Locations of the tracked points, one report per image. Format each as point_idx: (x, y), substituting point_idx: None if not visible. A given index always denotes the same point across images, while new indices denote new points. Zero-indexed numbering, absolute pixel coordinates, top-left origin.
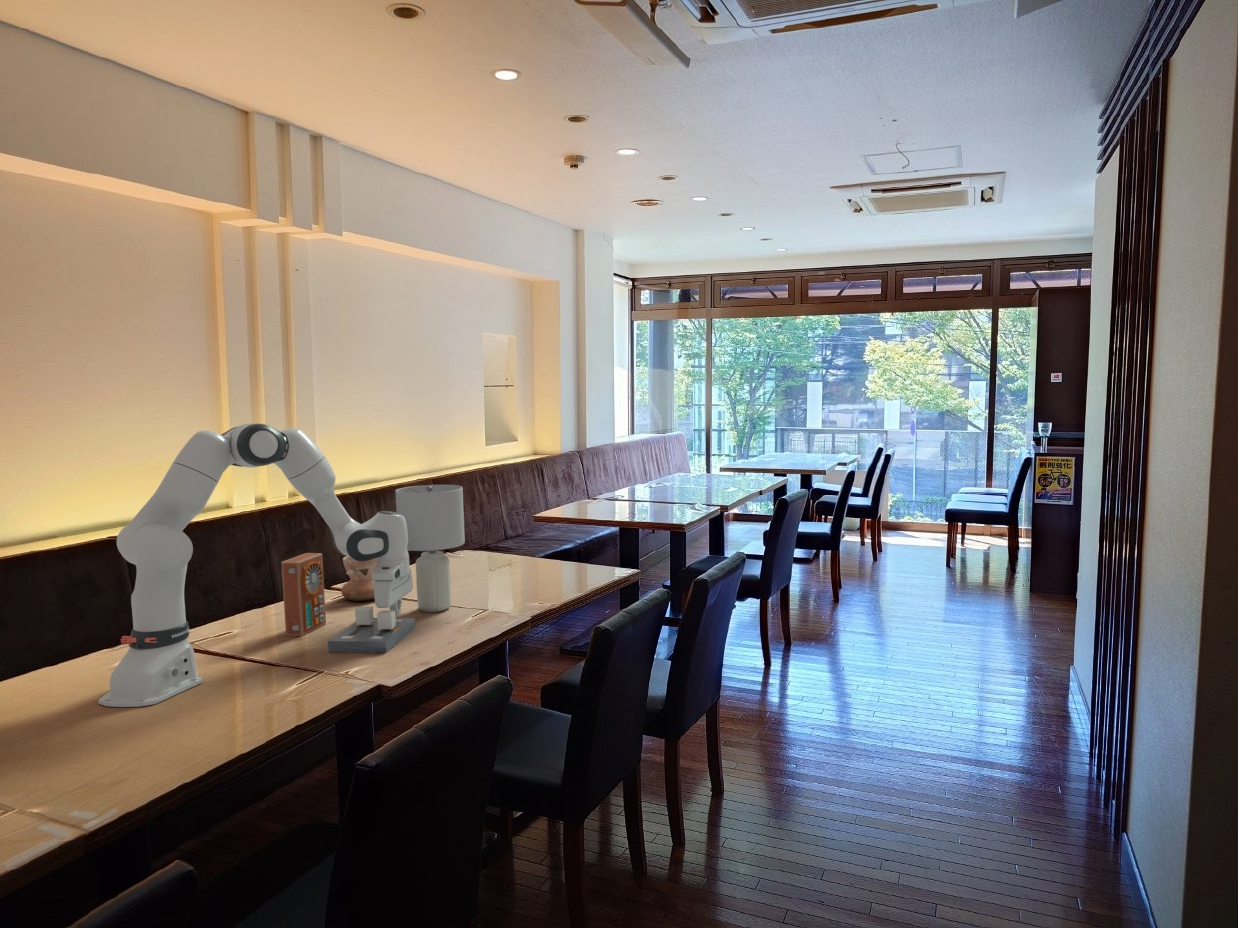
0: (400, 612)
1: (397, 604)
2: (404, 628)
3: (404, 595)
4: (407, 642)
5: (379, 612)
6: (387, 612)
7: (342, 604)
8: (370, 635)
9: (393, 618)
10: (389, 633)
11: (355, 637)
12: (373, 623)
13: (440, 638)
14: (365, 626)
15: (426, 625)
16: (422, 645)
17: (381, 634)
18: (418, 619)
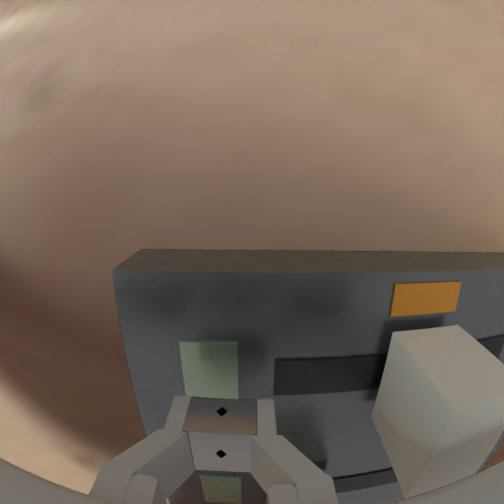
0: (180, 398)
1: (167, 473)
2: (358, 267)
3: (57, 491)
4: (440, 198)
5: (459, 475)
6: (488, 430)
7: None
8: None
9: (462, 364)
10: (491, 309)
11: None
12: None
13: (360, 18)
14: None
15: (80, 195)
16: (476, 102)
17: (499, 342)
18: (6, 285)
